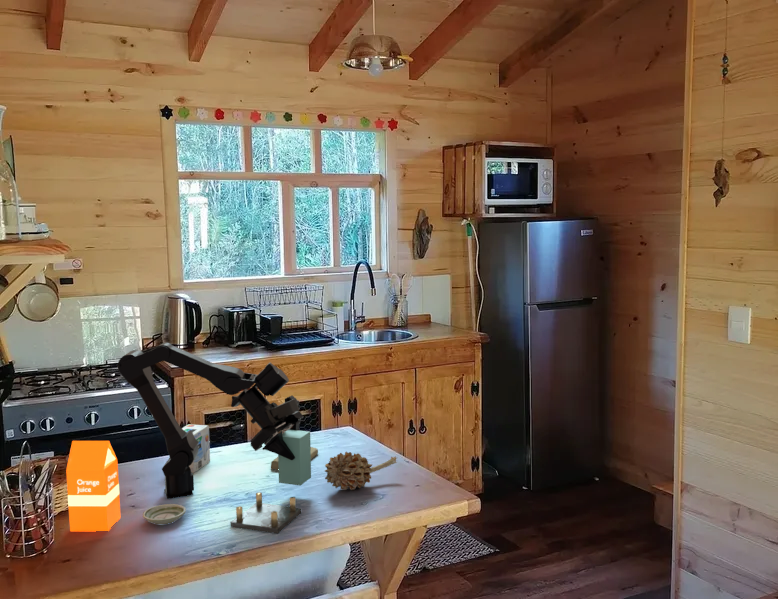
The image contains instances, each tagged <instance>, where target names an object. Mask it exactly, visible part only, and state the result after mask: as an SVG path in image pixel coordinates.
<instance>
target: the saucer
mask: <svg viewBox="0 0 778 599" xmlns="http://www.w3.org/2000/svg"><path fill="white" fill-rule="evenodd" d="M186 512H187V508H186V506H184V505H182V504H177V503H175V504H174V503H166V504H160V505H158V504H157V505H154V506H151V507H149V508H148V509H146V510H145V511H143V513H142V517H143V519H144V520H146V521H148V523H152V524H154V523H155V525H156V524H167V525H169V524H168V523H171V524H173V523H175V522H176V521H178V520H179V519H180V518H181V519H182V517H183V516H184V514H185V513H186ZM174 521H175V522H174ZM172 522H173V523H172Z"/></svg>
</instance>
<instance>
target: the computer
mask: <svg viewBox="0 0 778 599" xmlns="http://www.w3.org/2000/svg"><path fill="white" fill-rule="evenodd" d="M318 454H319V450H318V448H316V447H313V446H311V460H312V459H314V458H315V457H316V456H317V455H318ZM272 469H276V470H275V471H279V470H278V469H279V467H278V456H277V457H275V458H274V459H273V460H272V461H270V470H272Z"/></svg>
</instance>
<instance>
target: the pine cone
mask: <svg viewBox="0 0 778 599" xmlns="http://www.w3.org/2000/svg"><path fill="white" fill-rule="evenodd" d="M397 463H398V462H397V456H393V457H392V456H391V457H390V459H388V460H387V461H385V462H383V463H381V464H377V465H376V466H373V464H372V463H371V464H370V463H369V461H368V459H367V457H364V456H362V455H361V454H360V453H359V452H357V453H354V454H352V452H350V451H349V452H348V451H345V452H344V454H343V453H342V452H340V453H339V454H337V455H336V456H335V455H334V456H333V457H329V460H328V463H325V465H324V467H325V468H326V469H325V470H324V472H325V473H326V476H325V477H324V478H325V480H327V481H326V483H327V484H328V483H330V484H332V485H331V486H332V487H335V489H338V487H340V490H341V491H346V490H347V489H349V490H351V491H354V490H355V489H357V488H359V489H360V488H362V487H365V486H366V483H370V482H371V479H372V475H371V474H372V473H374V472H377V471H380V470H382V469H384V468H387V467H389V466H391V465H394V464H397Z"/></svg>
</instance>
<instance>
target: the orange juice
mask: <svg viewBox="0 0 778 599" xmlns="http://www.w3.org/2000/svg"><path fill="white" fill-rule="evenodd" d="M65 471H66V472H65V474H66V485H67V486H66V487H67V488H66V489H67V506H68V518H69V531H70V532H76V533H77V532H86V533H87V532H89V533H90V532H93V533H94V532H96V531H108V532H109V531H110V530H111V529H112V528H113V527H114V526H115V525H116V524H117V523H118V522H119V520H121V518H122V517H121V503H120V501H121V500H120V497H121V496H120V493H121V492H120V482H119V463H118V458H117V456H116V453H115V451H114V449H113V447H112V445H111V442H110V440H72V441H71V446H70V451H69V456H68V461H67V465H66V469H65ZM116 522H117V523H116ZM115 523H116V524H115ZM114 524H115V525H114ZM113 525H114V526H113ZM112 526H113V527H112ZM111 527H112V528H111Z"/></svg>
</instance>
